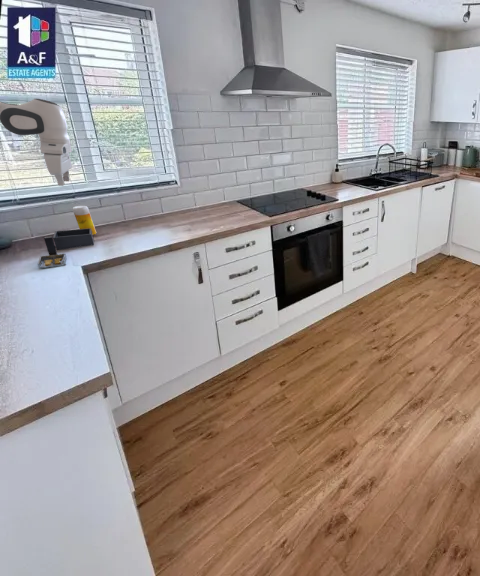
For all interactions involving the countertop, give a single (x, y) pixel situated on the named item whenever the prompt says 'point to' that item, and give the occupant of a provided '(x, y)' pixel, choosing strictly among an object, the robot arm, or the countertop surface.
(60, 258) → the key
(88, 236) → the bin
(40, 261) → the grey square piece
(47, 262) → the key
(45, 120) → the robot arm
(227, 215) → the countertop surface
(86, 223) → the glass of beer
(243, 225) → the countertop surface
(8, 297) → the countertop surface
